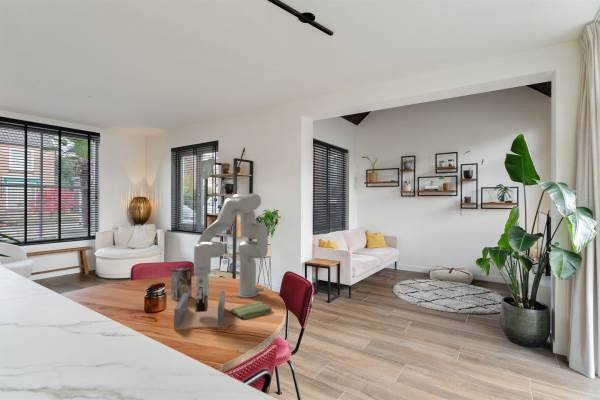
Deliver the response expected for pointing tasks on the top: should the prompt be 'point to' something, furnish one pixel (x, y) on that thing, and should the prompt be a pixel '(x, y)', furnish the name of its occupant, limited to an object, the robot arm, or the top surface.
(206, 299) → the walnut block
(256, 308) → the washcloth
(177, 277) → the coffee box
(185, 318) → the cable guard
